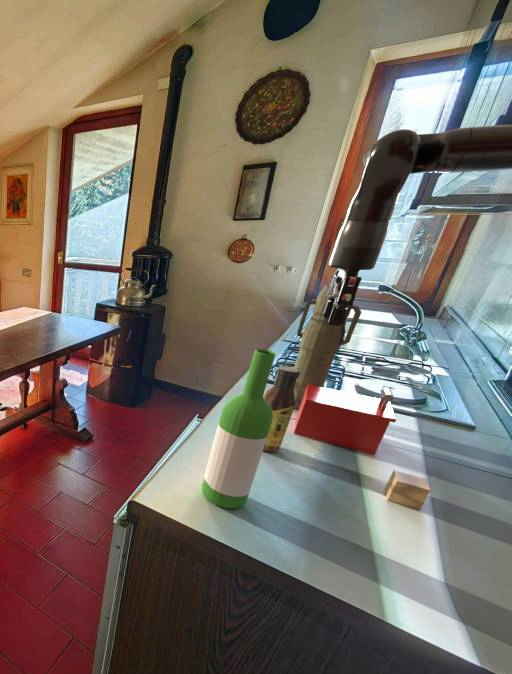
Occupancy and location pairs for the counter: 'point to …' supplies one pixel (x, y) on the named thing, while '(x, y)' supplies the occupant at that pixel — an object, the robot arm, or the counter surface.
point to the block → (407, 489)
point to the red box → (340, 427)
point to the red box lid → (353, 402)
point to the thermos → (319, 345)
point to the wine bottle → (240, 438)
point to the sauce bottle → (280, 405)
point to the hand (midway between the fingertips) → (331, 321)
